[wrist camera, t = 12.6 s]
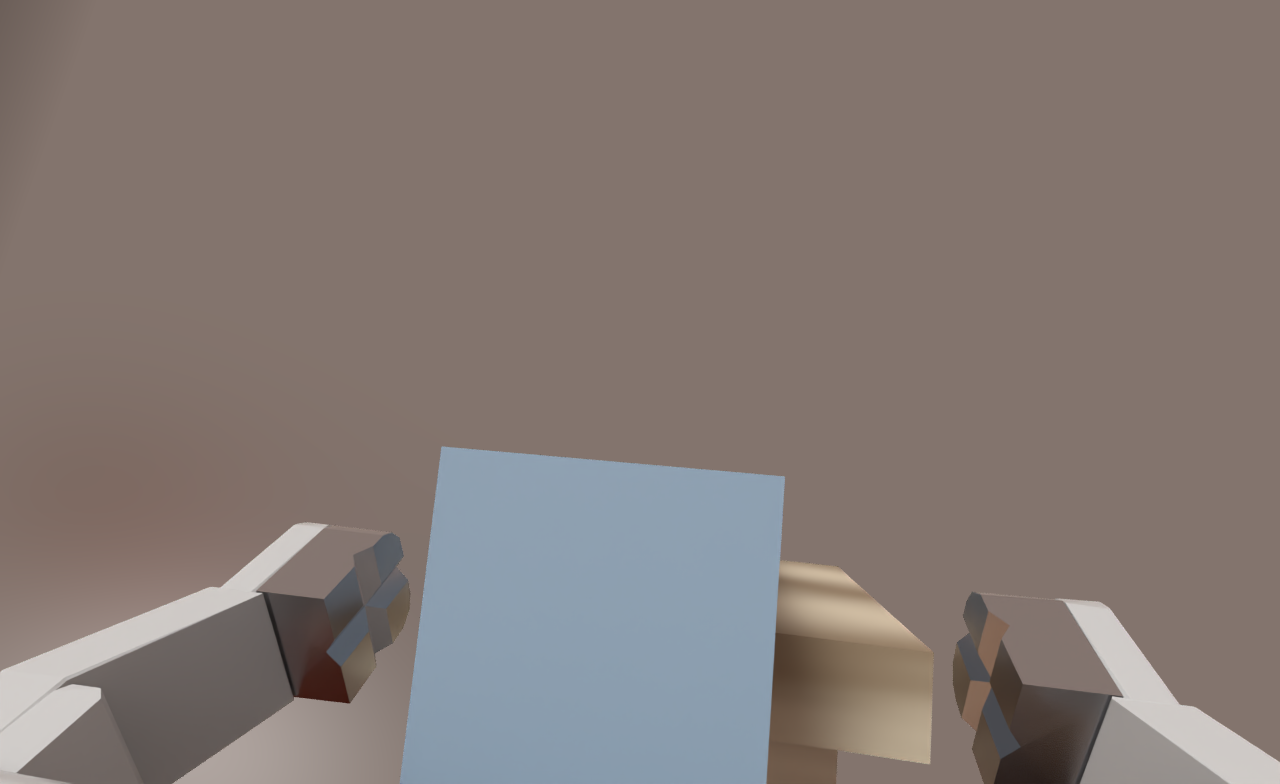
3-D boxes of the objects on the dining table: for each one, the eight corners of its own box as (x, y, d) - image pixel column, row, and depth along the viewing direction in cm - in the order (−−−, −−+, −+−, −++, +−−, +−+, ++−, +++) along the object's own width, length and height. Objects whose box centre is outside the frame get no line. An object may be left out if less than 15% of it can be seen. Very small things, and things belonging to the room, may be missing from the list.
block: (762, 872, 5) (785, 476, 5) (397, 804, 5) (441, 445, 6) (742, 556, 24) (748, 477, 25) (664, 547, 25) (671, 470, 25)
